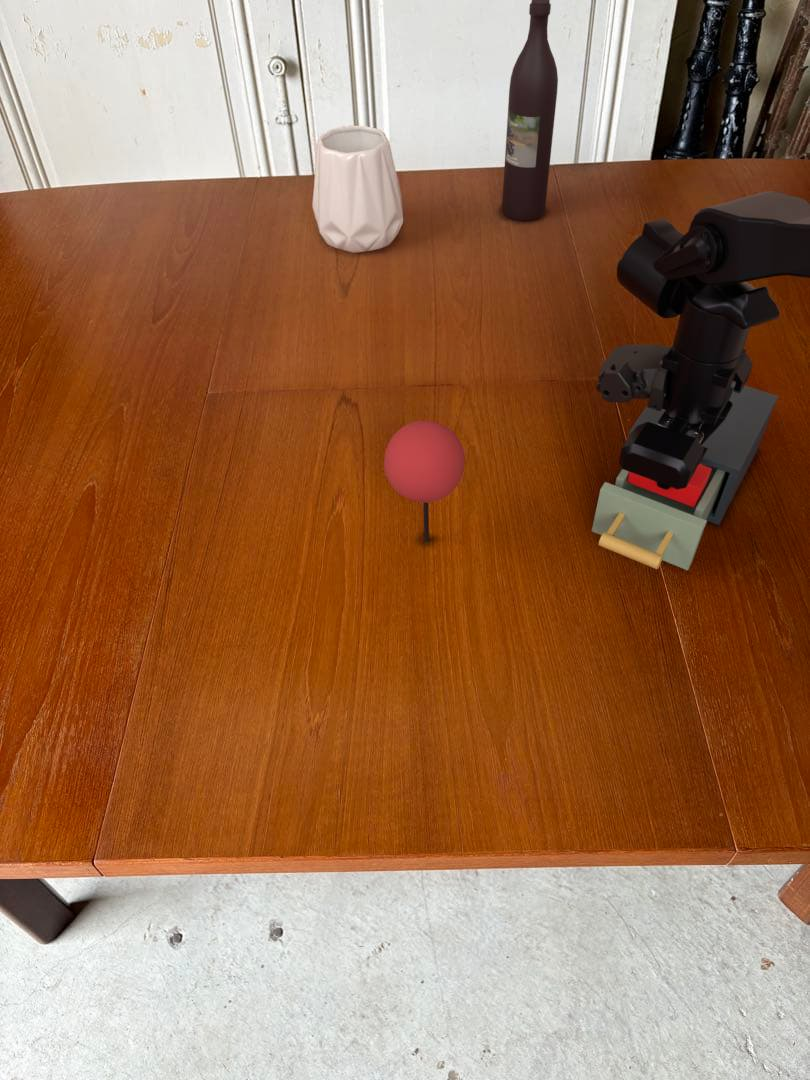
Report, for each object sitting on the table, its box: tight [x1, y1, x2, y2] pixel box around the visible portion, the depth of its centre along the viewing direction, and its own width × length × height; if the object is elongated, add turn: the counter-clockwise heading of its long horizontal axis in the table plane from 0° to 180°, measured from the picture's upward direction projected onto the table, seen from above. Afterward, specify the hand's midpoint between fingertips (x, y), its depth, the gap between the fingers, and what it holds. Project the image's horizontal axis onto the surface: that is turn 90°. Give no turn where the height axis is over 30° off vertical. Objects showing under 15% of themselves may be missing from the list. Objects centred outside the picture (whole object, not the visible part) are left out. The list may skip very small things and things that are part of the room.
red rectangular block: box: [627, 464, 712, 507], centre depth 81 cm, size 7×3×3 cm, turn 58°
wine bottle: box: [501, 0, 559, 222], centre depth 123 cm, size 7×7×30 cm
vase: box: [311, 125, 404, 254], centre depth 125 cm, size 14×14×15 cm
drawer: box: [591, 463, 728, 571], centre depth 83 cm, size 17×10×6 cm, turn 148°
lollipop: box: [383, 420, 466, 543], centre depth 81 cm, size 8×8×15 cm
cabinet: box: [619, 381, 779, 526], centre depth 90 cm, size 14×12×8 cm
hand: (669, 476), depth 81 cm, fingers closed on red rectangular block, 3 cm apart
